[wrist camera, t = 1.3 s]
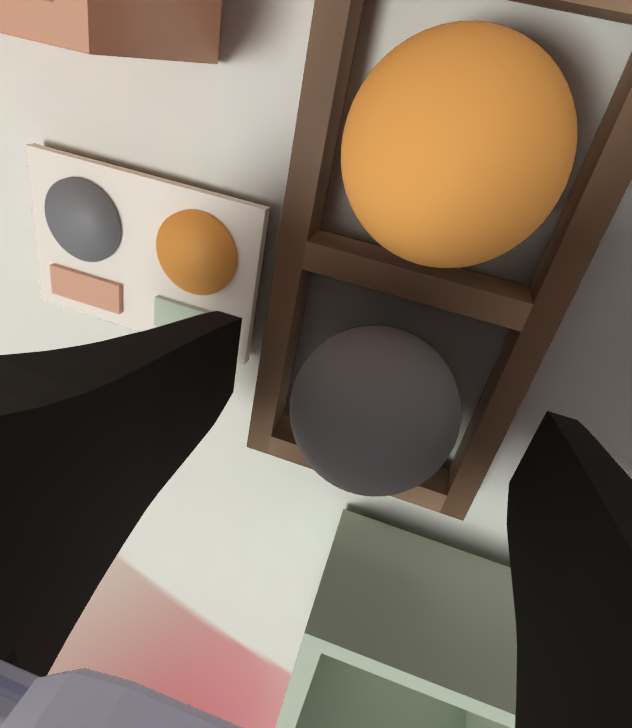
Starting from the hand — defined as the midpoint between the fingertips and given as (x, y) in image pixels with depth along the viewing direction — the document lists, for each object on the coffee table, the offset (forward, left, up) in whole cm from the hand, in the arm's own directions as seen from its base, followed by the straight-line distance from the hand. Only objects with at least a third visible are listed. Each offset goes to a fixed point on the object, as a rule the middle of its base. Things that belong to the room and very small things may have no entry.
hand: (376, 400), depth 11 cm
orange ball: (0, -5, 0) cm, 5 cm away
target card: (+6, -1, -1) cm, 7 cm away
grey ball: (0, 0, 0) cm, 0 cm away
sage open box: (-3, +8, -1) cm, 9 cm away
